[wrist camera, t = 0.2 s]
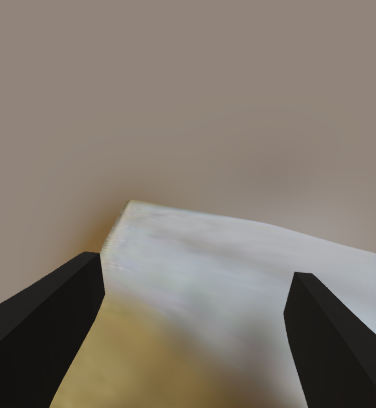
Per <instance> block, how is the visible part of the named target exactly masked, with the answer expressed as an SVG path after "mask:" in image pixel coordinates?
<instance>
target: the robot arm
mask: <svg viewBox="0 0 376 408" xmlns="http://www.w3.org/2000/svg"><path fill="white" fill-rule="evenodd" d="M104 296H105V289H104V282H103V274H102V267H101V260H100V253H94V252H83V253H81V254H79V255H78V256H76V257H74V258H73V259H71V260H70V261H68V262H67V263H65V264H63V265H62V266H60V267H59V268H57V269H56V270H54V271H53V272H51V273H50V274H48V275H46V276H45V277H43V278H42V279H40V280H39V281H37V282H35V283H34V284H32V285H31V286H29V287H28V288H26V289H24V290H23V291H21V292H19V293H17V294H16V295H14V296H12V297H11V298H9V299H8V300H6V301H4V302H2V303H1V304H0V408H49V407H50V404H51V402H52V400H53V398H54V396H55V394H56V392H57V390H58V388H59V386H60V384H61V382H62V380H63V378H64V376H65V374H66V372H67V371H68V369H69V367H70V365H71V363H72V361H73V360H74V358H75V356H76V354H77V352H78V350H79V349H80V347H81V345H82V343H83V341H84V339H85V338H86V336H87V334H88V332H89V330H90V328H91V326H92V324H93V323H94V321H95V319H96V316H97V314H98V311H99V309H100V306H101V304H102V301H103V298H104ZM283 314H284V320H285V326H286V332H287V337H288V342H289V346H290V349H291V353H292V356H293V359H294V363H295V366H296V369H297V372H298V376H299V379H300V382H301V385H302V389H303V392H304V395H305V398H306V402H307V405H308V408H376V334H375V333H374V332H373V331H372V330H370V329H369V328H368V327H367V326H366V325H365V324H364V323H363V322H362V321H361V320H360V319H359V318H358V317H357V316H356V315H354V314H353V313H352V312H351V311H350V310H349V309H348V308H347V307H346V306H345V305H344V304H343V303H342V302H341V301H340V300H339V299H338V298H337V297H336V296H335V295H334V294H333V293H332V292H331V291H330V290H329V289H328V288H327V287H326V286H325V285H324V284H323V283H322V282H321V281H320V280H319V279H318V278H317V277H316V276H314V275H313V274H312V273H301V272H294V276H293V280H292V283H291V287H290V291H289V294H288V298H287V302H286V306H285V309H284V313H283Z"/></svg>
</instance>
